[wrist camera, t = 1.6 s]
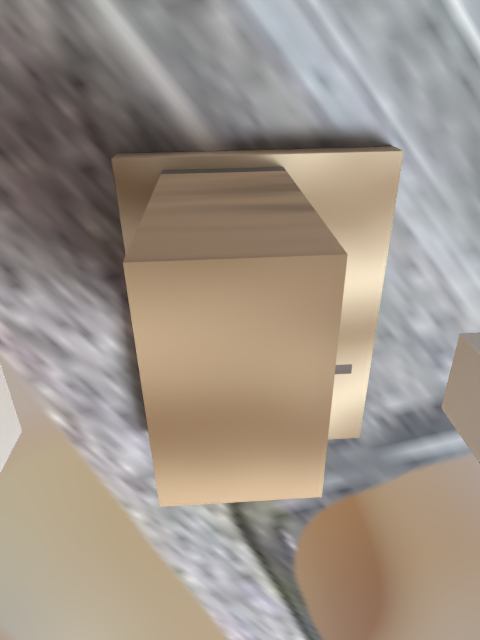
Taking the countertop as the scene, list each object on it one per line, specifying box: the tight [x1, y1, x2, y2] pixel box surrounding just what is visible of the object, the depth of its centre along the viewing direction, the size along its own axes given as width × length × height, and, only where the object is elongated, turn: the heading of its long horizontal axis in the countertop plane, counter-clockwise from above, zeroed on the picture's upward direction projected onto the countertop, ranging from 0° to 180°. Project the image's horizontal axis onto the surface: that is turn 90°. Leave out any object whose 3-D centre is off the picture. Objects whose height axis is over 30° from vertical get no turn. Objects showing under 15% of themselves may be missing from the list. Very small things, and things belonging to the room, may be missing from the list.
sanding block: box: [123, 167, 348, 507], centre depth 16 cm, size 8×5×10 cm, turn 1°
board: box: [111, 146, 404, 439], centre depth 23 cm, size 16×12×1 cm
